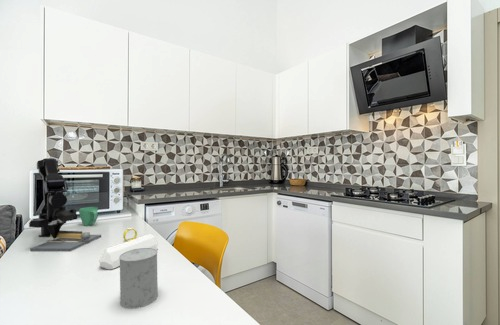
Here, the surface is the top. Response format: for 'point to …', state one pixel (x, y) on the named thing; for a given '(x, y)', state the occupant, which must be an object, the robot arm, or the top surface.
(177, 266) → the top surface
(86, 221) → the mug
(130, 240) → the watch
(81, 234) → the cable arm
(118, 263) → the white long bar
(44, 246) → the panel
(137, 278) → the grey concrete cylinder
